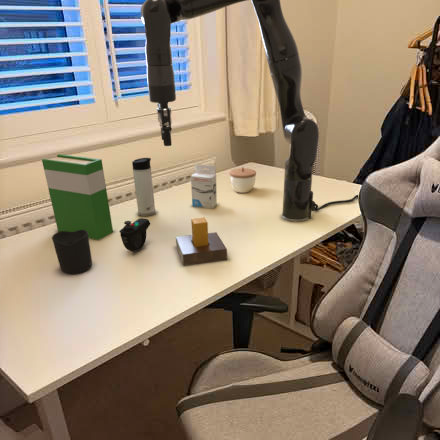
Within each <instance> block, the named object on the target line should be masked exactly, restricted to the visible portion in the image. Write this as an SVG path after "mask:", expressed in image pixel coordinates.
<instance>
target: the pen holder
mask: <svg viewBox="0 0 440 440" xmlns="http://www.w3.org/2000/svg"><path fill="white" fill-rule="evenodd" d="M51 240H52V243H53V247H54V250H55V254H56V257H57V262H58V264H59V267H60V268H59V269H60V270H61V271H62V273H65V274H67V275H79V274H83V273H86V272H87V271H89V270H90V269H91V268H92V267H93V259H92V251H91V246H90V238H88V232H87V231H85V230H78V231H75V232H68V231H61V232H59V231H57V232H55V233H54V234H53V235H52V237H51Z"/></svg>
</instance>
